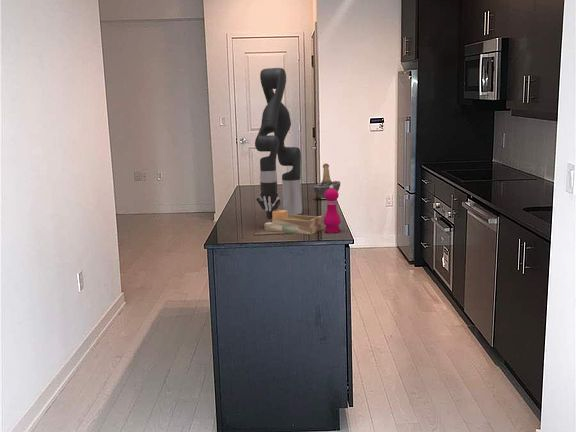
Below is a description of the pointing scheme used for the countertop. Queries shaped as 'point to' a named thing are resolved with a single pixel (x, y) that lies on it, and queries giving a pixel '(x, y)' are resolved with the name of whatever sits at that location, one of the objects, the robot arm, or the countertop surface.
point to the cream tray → (296, 224)
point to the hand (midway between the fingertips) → (270, 218)
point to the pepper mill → (331, 211)
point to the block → (280, 214)
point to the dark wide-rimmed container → (325, 183)
